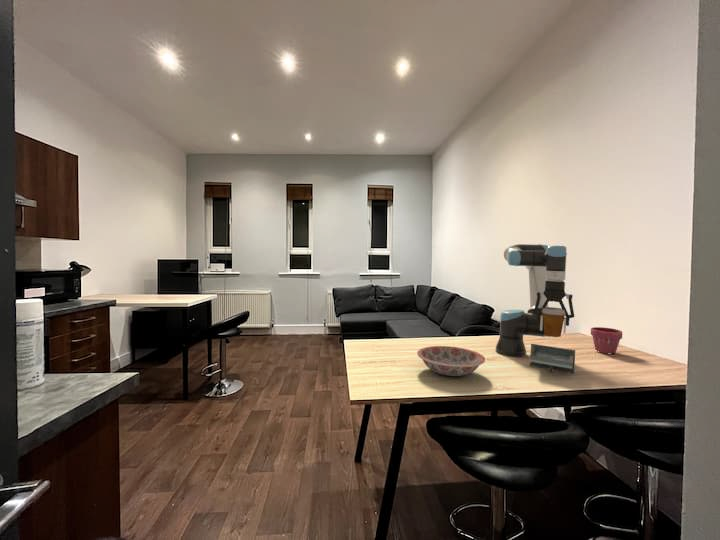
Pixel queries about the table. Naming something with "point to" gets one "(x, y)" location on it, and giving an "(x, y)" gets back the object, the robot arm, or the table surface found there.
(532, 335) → the robot arm
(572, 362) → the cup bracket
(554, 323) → the disposable coffee cup
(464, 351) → the ceramic bowl
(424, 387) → the table surface
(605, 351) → the plant pot
